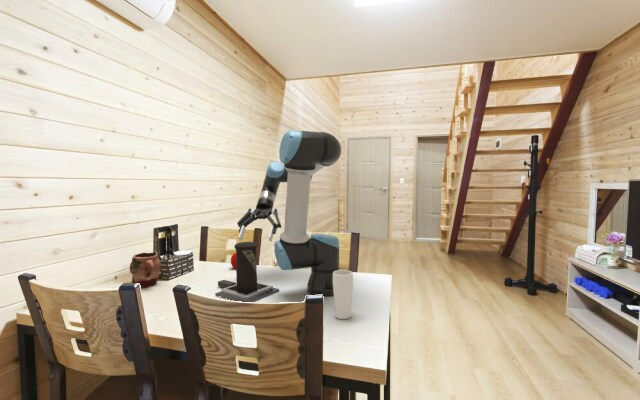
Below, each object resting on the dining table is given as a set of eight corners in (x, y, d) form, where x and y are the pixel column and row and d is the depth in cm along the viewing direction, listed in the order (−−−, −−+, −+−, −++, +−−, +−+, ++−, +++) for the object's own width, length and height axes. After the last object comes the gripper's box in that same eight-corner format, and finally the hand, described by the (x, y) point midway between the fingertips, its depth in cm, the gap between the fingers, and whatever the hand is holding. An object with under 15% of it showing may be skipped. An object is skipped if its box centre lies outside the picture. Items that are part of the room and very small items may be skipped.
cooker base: (279, 291, 133) (279, 285, 133) (246, 305, 119) (245, 298, 118) (237, 281, 148) (237, 275, 148) (203, 291, 134) (203, 286, 133)
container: (252, 295, 126) (251, 244, 125) (231, 293, 128) (230, 244, 127) (261, 288, 134) (260, 240, 133) (241, 287, 136) (240, 240, 135)
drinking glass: (357, 316, 108) (357, 271, 107) (344, 322, 103) (344, 276, 102) (341, 311, 112) (340, 268, 111) (328, 317, 107) (328, 272, 106)
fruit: (238, 265, 177) (238, 247, 177) (251, 267, 173) (251, 248, 173) (226, 269, 169) (226, 250, 168) (240, 271, 165) (240, 251, 164)
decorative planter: (170, 286, 141) (169, 255, 140) (140, 294, 132) (139, 260, 131) (151, 278, 154) (150, 249, 153) (123, 284, 145) (121, 253, 144)
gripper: (292, 207, 154) (284, 244, 140) (243, 207, 158) (230, 243, 144) (289, 197, 148) (280, 234, 134) (238, 197, 152) (224, 233, 138)
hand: (254, 239), depth 139 cm, fingers open, 13 cm apart
